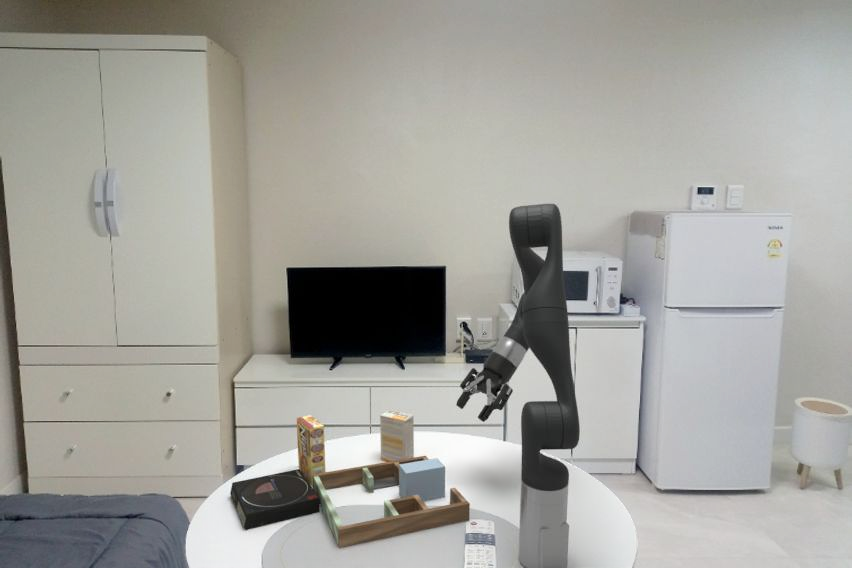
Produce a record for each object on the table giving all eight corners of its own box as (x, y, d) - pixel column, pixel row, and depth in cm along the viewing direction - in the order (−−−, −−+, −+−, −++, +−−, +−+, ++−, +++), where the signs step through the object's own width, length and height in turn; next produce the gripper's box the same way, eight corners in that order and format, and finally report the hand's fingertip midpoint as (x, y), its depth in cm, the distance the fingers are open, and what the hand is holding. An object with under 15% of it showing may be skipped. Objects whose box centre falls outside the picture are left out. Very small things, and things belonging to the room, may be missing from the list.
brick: (444, 497, 151) (445, 466, 150) (406, 505, 147) (406, 473, 146) (436, 488, 156) (437, 458, 154) (399, 495, 152) (399, 464, 151)
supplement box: (414, 460, 171) (414, 414, 169) (404, 467, 167) (404, 420, 165) (390, 453, 175) (389, 408, 173) (379, 459, 171) (379, 414, 169)
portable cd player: (230, 498, 150) (229, 483, 150) (299, 483, 158) (299, 468, 158) (244, 532, 136) (243, 515, 135) (319, 514, 144) (319, 497, 143)
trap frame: (469, 519, 141) (469, 503, 140) (339, 547, 130) (339, 530, 129) (425, 469, 165) (425, 455, 165) (312, 489, 154) (312, 474, 153)
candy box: (326, 482, 158) (325, 425, 155) (310, 487, 155) (309, 428, 153) (312, 469, 165) (311, 414, 163) (297, 473, 163) (295, 417, 160)
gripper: (478, 343, 160) (443, 396, 157) (516, 360, 148) (479, 417, 145) (494, 358, 164) (460, 409, 161) (532, 375, 153) (496, 431, 149)
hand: (469, 413), depth 153 cm, fingers open, 8 cm apart
